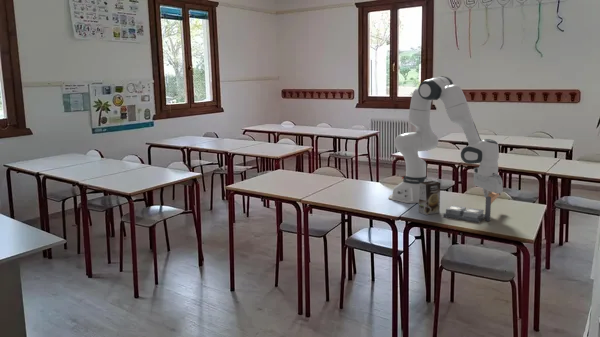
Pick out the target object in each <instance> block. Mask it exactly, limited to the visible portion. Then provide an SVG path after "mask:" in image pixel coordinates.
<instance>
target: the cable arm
mask: <svg viewBox="0 0 600 337" xmlns="http://www.w3.org/2000/svg"><path fill="white" fill-rule="evenodd" d="M500 196H501V193H493V192H492V193H491V194H490V195H489V196H487V197H486V198H485V208H484V209H485V210H484V211H485V212H484V214H485V218H484V221H487V222H490V221H491V211H492V208H491V207H492V204H493V202H495V200H497V198H498V197H500Z"/></svg>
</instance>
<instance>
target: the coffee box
mask: <svg viewBox="0 0 600 337" xmlns="http://www.w3.org/2000/svg"><path fill="white" fill-rule="evenodd" d="M440 210H441V182H440V181H435V180H427V182H421V183H420V187H419V203H418V213H420V214H422V215H425V216H428V215H433V214H439V213H440Z"/></svg>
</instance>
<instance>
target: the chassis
mask: <svg viewBox="0 0 600 337" xmlns="http://www.w3.org/2000/svg"><path fill="white" fill-rule="evenodd" d="M466 208H467V207H466V206H459V205H453V204H452V205H451V206H448V207H447V208H446V209H445V212H444V213H443V215H442V216H444V218H449V217H450V219H455V218H456V220H461V219H462V221H467V222H473V223H480V222H481V221H483V220H485V212H484V211H485V210H484V209H478V208H472V207H469V208H467V209H466Z"/></svg>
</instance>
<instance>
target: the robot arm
mask: <svg viewBox="0 0 600 337" xmlns="http://www.w3.org/2000/svg"><path fill="white" fill-rule="evenodd" d="M412 92H413V93H412V95H411V98H410V105H409V112H408V113H409V115H408V122H409V123H410V125H412V126H413V127H415V132H414V131H412V132H404V133H401V134H398V135H397V136H396V137H395V139H394V148H395V149H396V151H398V152H399V153H400V154H401V155H402V156H403V159H404V162H405V175H403V176H402V177H401V180H402V182H400V183H399V184H397V185H395V186H394V187H393V190H392V194H390V195H388V200H393V201H396V202H402V203H405V204H416V203H417V204H419V187H420V183H421V182H428V180H427V179H428V177H427V163H426V161H425V160H424V159H422V158H421V157H419V152H425V151H431V150H433V149H436V148H437V147H438V144H439V136H438V134H436V133H435V132H434V130H433V129H432V127H431V122H430V118H431V117H430V116H431V108H432V101H437V100H438V101H439V100H441V101H442V102H443V104H444V105H443V106H444V108H445V112H446V114H447V117H448V119H449V121H450V122H452V123H454V124H456V125H457V126H459V127H460V128H461V129H462V131H463V132H464V135H465V138H466V141H467V143H468V145H467V146H465V147H463V148H462V149H461V152H460V158H461V160H462V161H463V162H464V163H466V164H467V165H468V164H469V165H474V164H479V167H473V172H474V173H473V185H474V186H476V187H478V188H481V189H482V191H483V197H484V198H485V199H486V197H487V196H489V195H490V194H491V193H492V192H493V193H500V194H502V193H503V191H504V189H503V186H504V185H503V178H502V177H501V175H500V174H498V173H499V163H498V162H499V161H498V160H499V158H500V157H499V155H500V153H499V152H500V150H499V149H500V148H499V144H498V142H497V141H496V140H494V139H489V138H484V139H481V136H480V134H479V132H478V129H477V127H476V124H475V122H474V119H473V117H472V113H471V111H470V107H469V104H468V101H467V99H466V96H465V93H464V92H463V89H462V88H461V86H460V85H458V84H454V83H453V80H452V79H451V78H450V77H448V76H442V75H441V76H435V77H431V78H429V79H425V80H423V81H422V82H421V83H420V84H419V86H418V87H417V88H415V89H414V90H413V91H412Z"/></svg>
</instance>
